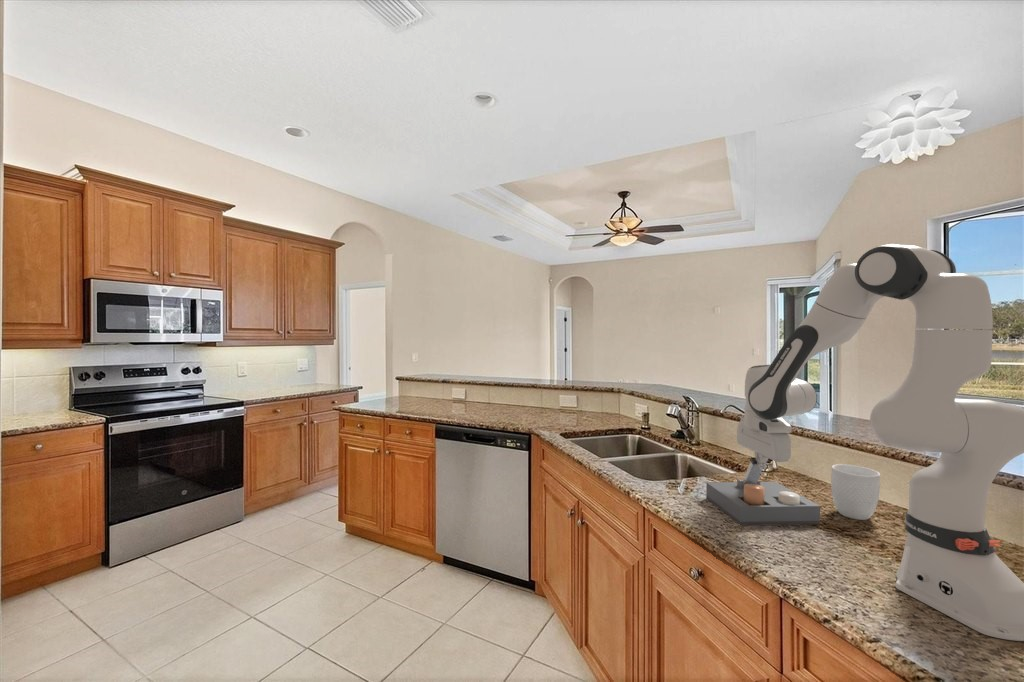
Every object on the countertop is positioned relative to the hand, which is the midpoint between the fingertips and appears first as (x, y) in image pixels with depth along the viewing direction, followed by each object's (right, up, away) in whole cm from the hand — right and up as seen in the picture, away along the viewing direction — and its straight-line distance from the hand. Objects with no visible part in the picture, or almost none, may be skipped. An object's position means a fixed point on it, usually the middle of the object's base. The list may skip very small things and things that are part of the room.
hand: (761, 468), depth 129 cm
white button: (+5, -11, -4) cm, 13 cm away
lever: (0, -7, +6) cm, 9 cm away
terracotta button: (-5, -9, -5) cm, 11 cm away
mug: (+26, -13, -1) cm, 29 cm away
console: (0, -13, 0) cm, 13 cm away
